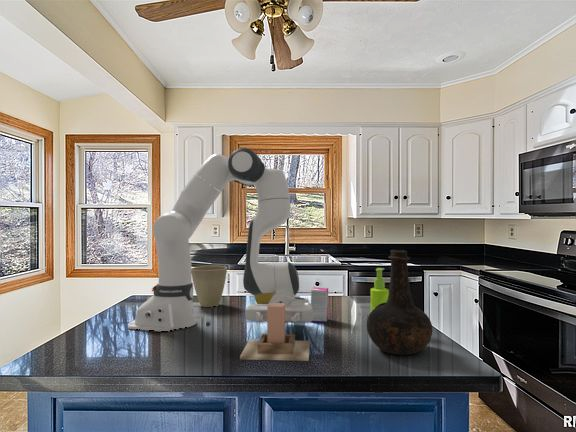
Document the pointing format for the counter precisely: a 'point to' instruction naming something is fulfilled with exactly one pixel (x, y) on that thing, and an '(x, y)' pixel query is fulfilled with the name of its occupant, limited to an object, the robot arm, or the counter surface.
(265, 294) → the flower pot
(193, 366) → the counter surface
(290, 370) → the counter surface
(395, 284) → the glass bottle
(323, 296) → the supplement box
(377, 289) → the soap dispenser
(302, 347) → the housing
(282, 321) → the block
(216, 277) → the plant pot
